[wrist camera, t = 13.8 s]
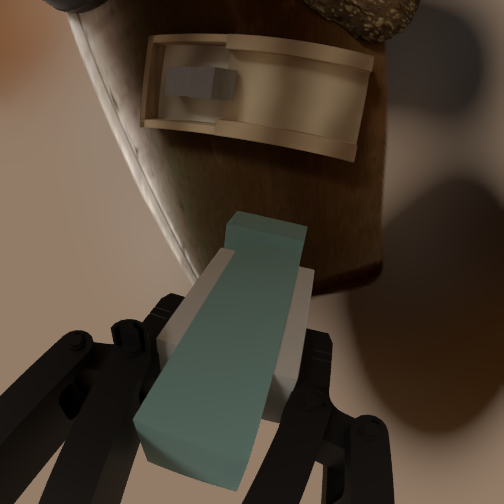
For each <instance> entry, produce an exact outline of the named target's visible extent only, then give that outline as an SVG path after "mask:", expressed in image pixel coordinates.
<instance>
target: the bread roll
mask: <svg viewBox="0 0 504 504" xmlns="http://www.w3.org/2000/svg"><path fill="white" fill-rule="evenodd" d="M304 2H305V3H306V4H307V5H309V7H310V8H312V9H314V10H315V11H317V12H318V13H319V14H320V15H321V16H322V17H324V18H326V19H327V20H332V21H334V22H336V23H338V24H340V25H341V26H343V27H344V28H345V29H347V30H348V31H349V32H350V33H351V34H352V35H353V36H354V37H355V38H356V39H359V38H360V39H365V40H367V41H368V42H383V41H384V40H388V39H391V38H392V36H393V35H395V34H397V33H401V32H402V31H403V30H404V28H405V27H406V26H407V25H408V24H409V23H410V22H411V20H413V18H414V14H415V12H416V10H417V9H418V5H419V2H420V0H304Z"/></svg>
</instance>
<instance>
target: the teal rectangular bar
mask: <svg viewBox="0 0 504 504" xmlns="http://www.w3.org/2000/svg"><path fill="white" fill-rule="evenodd" d="M306 231H307V226H303V225H298V224H294V223H290V222H285V221H281V220H277V219H272V218H268V217H263V216H259V215H254V214H250V213H245V212H241V211H237V212H236V213H235V214H234V216H233V217H232V218H231V219H230V221H229V222H228V223H227V226H226V235H225V244H224V248H225V249H229V250H233V251H235V253H234V254H233V256H232V258H231V259H230V261H229V262H228V264H227V266H226V267H225V269H224V270H223V272H222V274H221V275H220V277H219V278H218V280H217V282H216V283H215V285H214V287H213V288H212V290H211V291H210V293H209V295H208V296H207V298H206V299H205V301H204V303H203V304H202V306H201V308H200V309H199V311H198V312H197V314H196V316H195V317H194V319H193V321H192V322H191V324H190V325H189V327H188V329H187V330H186V332H185V334H184V335H183V337H182V339H181V340H180V342H179V343H178V345H177V347H176V348H175V350H174V352H173V353H172V355H171V357H170V358H169V360H168V362H167V363H166V365H165V367H164V368H163V370H162V372H161V373H160V375H159V376H158V378H157V380H156V381H155V383H154V385H153V386H152V388H151V390H150V391H149V393H148V395H147V396H146V398H145V400H144V401H143V403H142V405H141V406H140V408H139V410H138V412H137V413H136V415H135V417H134V418H133V422H134V425H135V428H136V430H137V433H138V436H139V439H140V442H141V444H142V447H143V450H144V452H145V455H146V458H147V460H148V461H149V462H151V463H154V464H156V465H158V466H161V467H163V468H166V469H169V470H171V471H174V472H177V473H179V474H182V475H185V476H188V477H191V478H194V479H197V480H200V481H203V482H206V483H209V484H212V485H216V486H219V487H222V488H226V489H230V490H233V491H237V489H238V487H239V484H240V482H241V479H242V477H243V474H244V471H245V469H246V466H247V464H248V461H249V458H250V455H251V451H252V448H253V445H254V441H255V438H256V434H257V431H258V428H259V424H260V420H261V417H262V413H263V410H264V406H265V403H266V399H267V395H268V392H269V388H270V384H271V380H272V376H273V373H274V369H275V365H276V361H277V357H278V353H279V349H280V345H281V341H282V337H283V333H284V329H285V325H286V320H287V316H288V312H289V308H290V303H291V299H292V295H293V290H294V286H295V281H296V277H297V272H298V268H299V263H300V259H301V254H302V249H303V245H304V241H305V236H306Z"/></svg>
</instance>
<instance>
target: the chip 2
mask: <svg viewBox="0 0 504 504" xmlns="http://www.w3.org/2000/svg"><path fill="white" fill-rule="evenodd" d="M236 77H237V71H236V70H231V69H225V68H218V67H191V75H190V83H189V92H188V97H191V98H202V99H212V100H230V101H233V99H234V92H235V84H236Z"/></svg>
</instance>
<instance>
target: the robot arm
mask: <svg viewBox="0 0 504 504" xmlns="http://www.w3.org/2000/svg"><path fill="white" fill-rule="evenodd" d="M43 1H45V2H46V3H48V4H49V5H51V6H53V7H54V8H55V9H57V10H60V11H64V12H70V13H83V12H87V11H90V10H92V9H94V8H96V7H98V6H100V5H101V4H103V3H104V2H106V1H107V0H43ZM234 253H235V251H233V250H229V249H225V248H220V250H219V251H218V252H217V254H216V255H215V256H214V258H213V259H212V261H211V262H210V263H209V265H208V266H207V267H206V269H205V270H204V272H203V273H202V274H201V276H200V277H199V279H198V280H197V281H196V283H195V284H194V286H193V287H192V288H191V290H190V291H189V293H188V294H187V295H186V297H183V296H180V295H176V294H173V293H170V294H168V295H167V296H165V297H163V298H161V300H160V301H159V302H158V303H157V305H156V306H155V308H153V310H152V311H151V312H150V314H149V315H148V316H147V317H146V318H145V320H144V321H143V322H140V321H137V320H133V319H126V320H121V321H119V322H117V323H115V324H114V325H113V326H112V327H111V332H112V337H113V342H114V344H104V343H96V342H93V339H92V336H91V335H90V334H89V333H87V332H85V331H82V330H75V331H71V332H69V333H67V334H66V335H64V336H63V337H62V338H61V339H60V340H59V341H57V342H56V343H55V344H54V345H53V346H52V347H51V348H50V349H49V350H48V351H47V352H45V353H44V354H43V355H42V356H41V357H40V358H39V359H38V360H37V361H36V362H35V363H34V364H33V365H32V366H30V367H29V369H28V370H26V371H25V372H24V373H23V374H22V375H21V376H20V377H19V378H18V379H17V380H16V381H15V382H14V383H13V384H12V385H11V386H10V387H9V388H8V389H7V390H6V391H5V392H4V393H3V394H2V395H1V396H0V504H14V503H15V502H16V500H17V499H18V498H19V497H20V495H21V494H22V493H23V492H24V490H25V489H26V488H27V486H28V485H29V484H30V483H31V482H32V480H33V479H34V478H35V477H36V475H37V474H38V473H39V472H40V471H41V469H42V468H43V467H44V466H45V464H46V463H47V462H48V461H49V460H50V458H51V457H52V456H53V455H54V453H55V452H56V451H57V450H58V449H59V447H60V446H61V445H62V444H63V442H64V441H65V440H66V441H65V443H64V445H63V447H62V449H61V452H60V454H59V456H58V458H57V461H56V463H55V465H54V467H53V470H52V472H51V474H50V477H49V479H48V481H47V484H46V486H45V489H44V491H43V494H42V496H41V499H40V501H39V504H120V503H121V499H122V496H123V493H124V490H125V487H126V484H127V480H128V477H129V474H130V471H131V468H132V465H133V462H134V459H135V456H136V453H137V450H138V447H139V444H140V439H139V436H138V433H137V430H136V428H135V425H134V422H133V418H134V417H135V415H136V413H137V412H138V410H139V408H140V406H141V405H142V403H143V401H144V400H145V398H146V396H147V395H148V393H149V391H150V390H151V388H152V386H153V385H154V383H155V381H156V380H157V378H158V376H159V375H160V373H161V372H162V370H163V368H164V367H165V365H166V363H167V362H168V360H169V358H170V357H171V355H172V353H173V352H174V350H175V348H176V347H177V345H178V343H179V342H180V340H181V339H182V337H183V335H184V334H185V332H186V330H187V329H188V327H189V325H190V324H191V322H192V321H193V319H194V317H195V316H196V314H197V312H198V311H199V309H200V308H201V306H202V304H203V303H204V301H205V299H206V298H207V296H208V295H209V293H210V291H211V290H212V288H213V287H214V285H215V283H216V282H217V280H218V278H219V277H220V275H221V274H222V272H223V270H224V269H225V267H226V266H227V264H228V262H229V261H230V259H231V258H232V256H233V254H234ZM313 278H314V270H312V269H308V268H304V267H300V266H299V268H298V272H297V277H296V281H295V286H294V290H293V295H292V299H291V303H290V308H289V312H288V316H287V320H286V325H285V329H284V333H283V337H282V341H281V345H280V349H279V353H278V357H277V361H276V365H275V369H274V373H273V376H272V380H271V384H270V388H269V392H268V395H267V399H266V403H265V406H264V410H263V413H262V417H261V419H264V420H268V421H272V422H276V423H279V422H280V424H279V428H278V430H277V433H276V435H275V437H274V439H273V441H272V443H271V446H270V448H269V450H268V452H267V454H266V456H265V458H264V460H263V463H262V465H261V467H260V469H259V471H258V473H257V475H256V477H255V479H254V481H253V483H252V485H251V487H250V489H249V491H248V493H247V495H246V497H245V499H244V500H243V502H242V504H299V503H300V500H301V498H302V495H303V492H304V490H305V487H306V484H307V482H308V479H309V476H310V473H311V471H312V468H313V465H314V462H315V461H317V462H319V463H321V464H323V480H322V498H321V504H394V488H393V474H392V462H391V453H390V443H389V436H388V435H389V434H388V430H387V427H386V425H385V424H384V422H383V421H382V420H381V419H379V418H377V417H376V416H372V415H361V416H359V417H357V418H353V417H351V416H349V415H347V414H345V413H343V412H341V411H339V410H338V409H337V408H336V407H335V406H334V405H333V403H332V402H331V400H330V397H329V386H330V375H331V360H332V345H333V343H332V341H331V338H330V336H329V334H328V333H324V332H320V331H316V330H310V329H307V328H306V326H307V320H308V313H309V306H310V300H311V293H312V285H313Z"/></svg>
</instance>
